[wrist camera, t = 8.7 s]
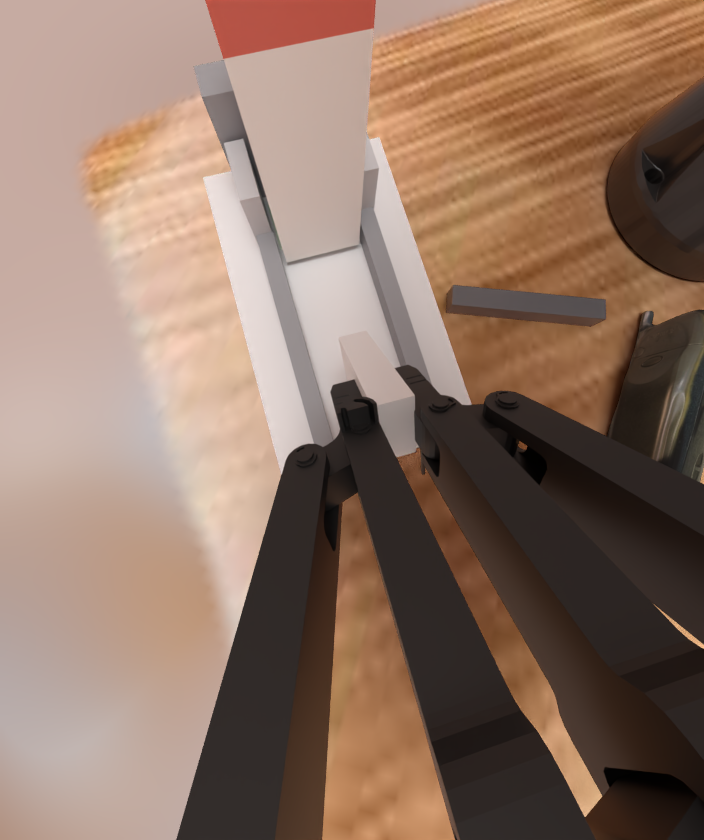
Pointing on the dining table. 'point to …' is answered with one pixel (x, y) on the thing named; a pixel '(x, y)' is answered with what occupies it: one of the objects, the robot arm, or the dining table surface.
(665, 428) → the mobile phone
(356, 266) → the gray railed slide base
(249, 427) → the dining table surface
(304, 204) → the toggle
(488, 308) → the gray rectangular bar
